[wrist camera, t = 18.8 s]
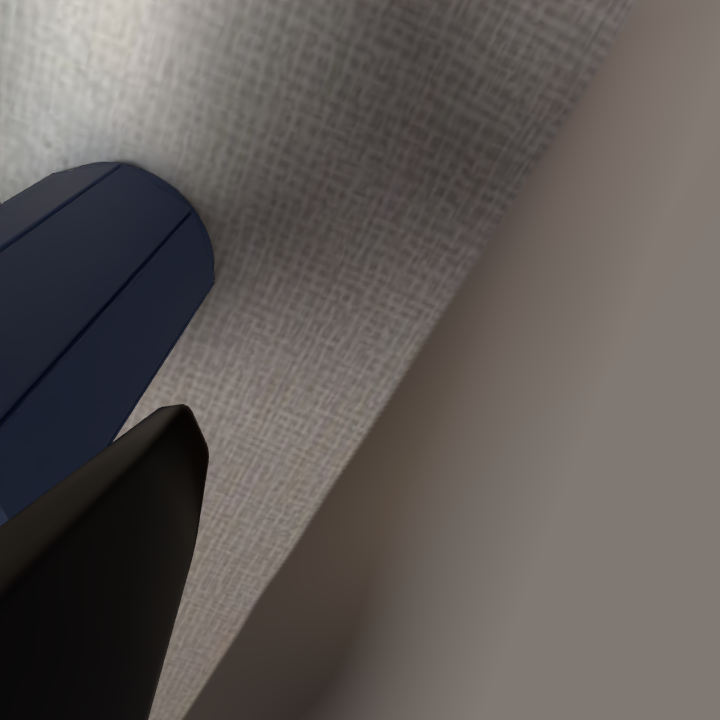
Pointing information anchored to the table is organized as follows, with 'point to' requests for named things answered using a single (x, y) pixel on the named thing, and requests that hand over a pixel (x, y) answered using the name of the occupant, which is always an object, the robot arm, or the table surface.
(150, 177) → the measuring cup
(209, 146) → the table surface
